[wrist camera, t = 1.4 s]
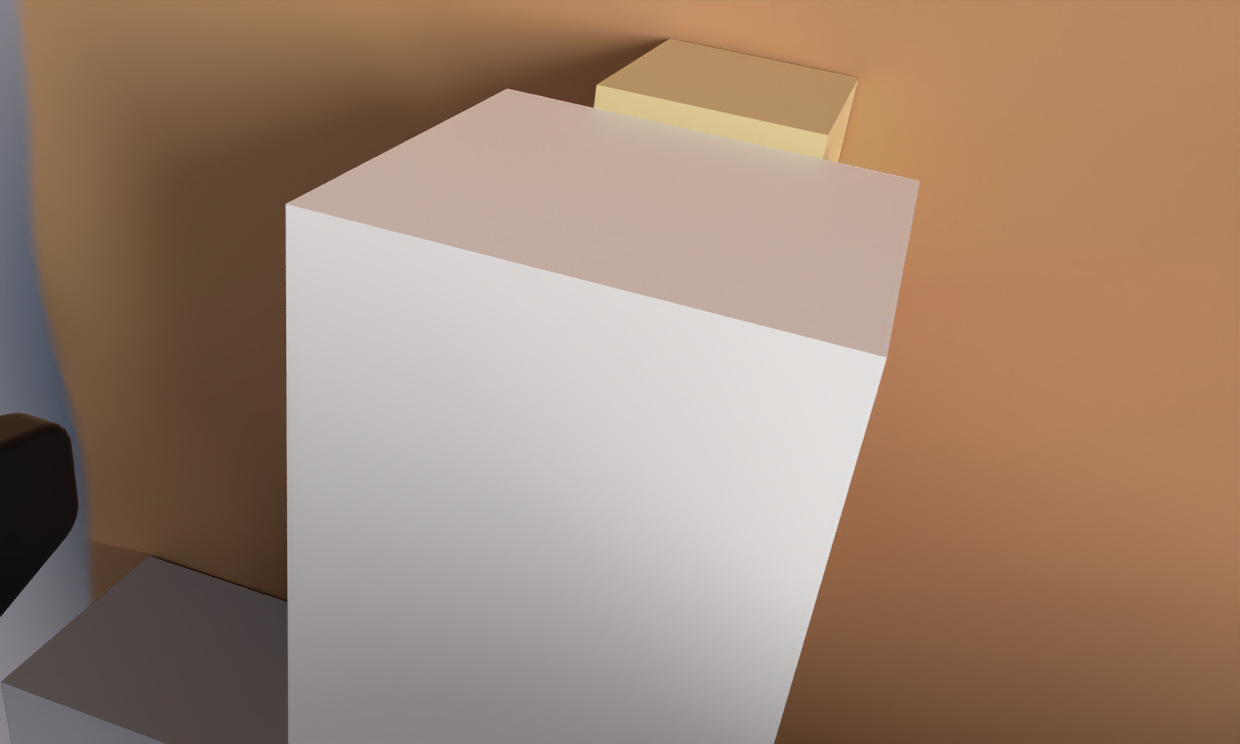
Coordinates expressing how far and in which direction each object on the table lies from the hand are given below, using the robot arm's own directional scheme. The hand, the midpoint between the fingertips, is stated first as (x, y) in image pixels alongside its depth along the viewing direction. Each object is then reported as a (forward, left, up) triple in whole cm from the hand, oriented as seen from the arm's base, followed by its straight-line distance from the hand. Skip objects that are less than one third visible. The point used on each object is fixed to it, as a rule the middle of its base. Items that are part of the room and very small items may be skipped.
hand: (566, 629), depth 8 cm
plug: (0, +1, -5) cm, 5 cm away
